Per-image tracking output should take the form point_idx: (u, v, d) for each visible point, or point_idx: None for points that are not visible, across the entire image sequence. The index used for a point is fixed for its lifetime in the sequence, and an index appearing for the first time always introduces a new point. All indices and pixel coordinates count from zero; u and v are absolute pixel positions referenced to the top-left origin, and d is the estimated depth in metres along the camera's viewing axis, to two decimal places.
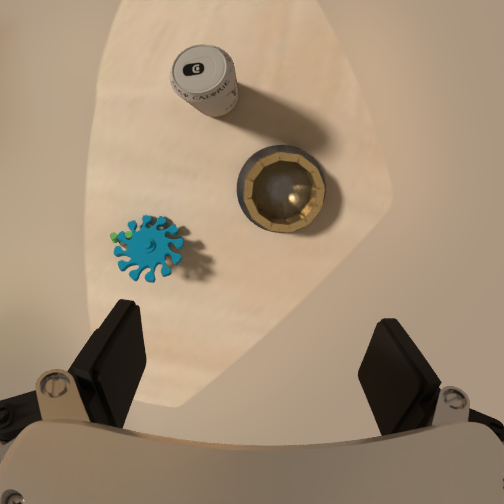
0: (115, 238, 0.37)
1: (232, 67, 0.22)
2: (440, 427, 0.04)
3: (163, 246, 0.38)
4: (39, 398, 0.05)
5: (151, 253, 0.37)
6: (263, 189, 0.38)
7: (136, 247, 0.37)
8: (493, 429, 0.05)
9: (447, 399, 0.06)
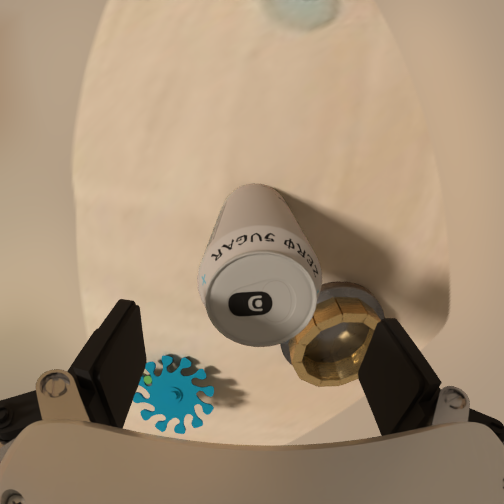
0: None
1: (319, 282, 0.13)
2: (440, 427, 0.04)
3: (192, 396, 0.30)
4: (39, 398, 0.05)
5: (178, 404, 0.29)
6: None
7: (159, 396, 0.29)
8: (493, 429, 0.05)
9: (447, 399, 0.06)
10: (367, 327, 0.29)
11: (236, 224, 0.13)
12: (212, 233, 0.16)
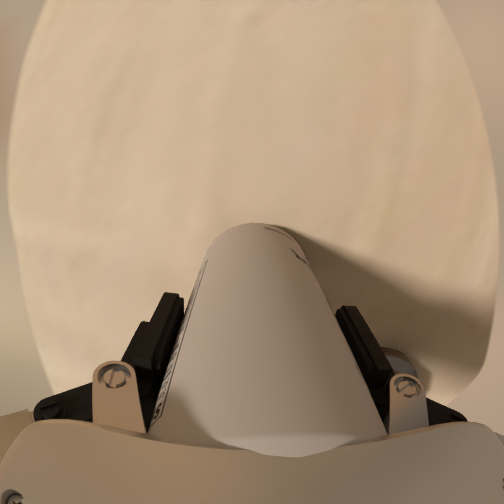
0: None
1: None
2: (440, 427, 0.04)
3: None
4: (99, 390, 0.06)
5: None
6: None
7: None
8: (452, 422, 0.05)
9: (399, 388, 0.07)
10: None
11: (210, 405, 0.05)
12: (169, 363, 0.07)
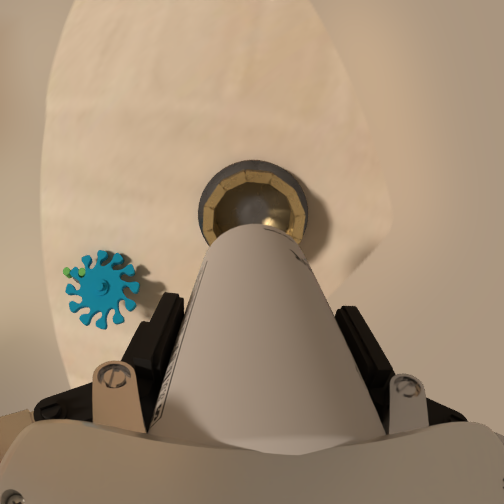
0: (68, 274, 0.31)
1: None
2: (440, 427, 0.04)
3: (117, 290, 0.32)
4: (99, 390, 0.06)
5: (103, 297, 0.31)
6: (230, 216, 0.31)
7: (88, 288, 0.31)
8: (452, 422, 0.05)
9: (399, 388, 0.07)
10: (288, 208, 0.31)
11: (210, 407, 0.05)
12: (169, 365, 0.07)
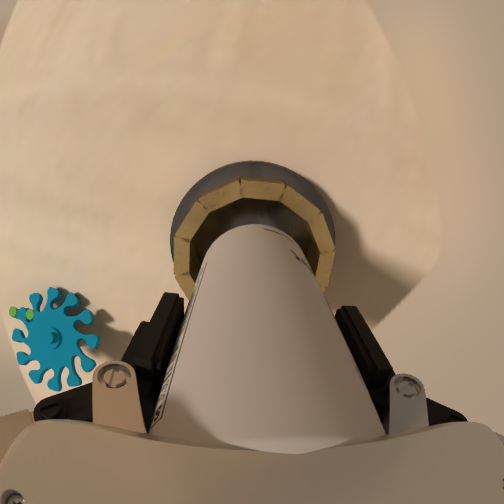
0: (15, 315, 0.20)
1: None
2: (440, 427, 0.04)
3: (71, 343, 0.21)
4: (99, 390, 0.06)
5: (55, 351, 0.20)
6: None
7: (37, 337, 0.20)
8: (452, 422, 0.05)
9: (399, 388, 0.07)
10: (306, 235, 0.20)
11: (210, 408, 0.05)
12: (169, 365, 0.07)
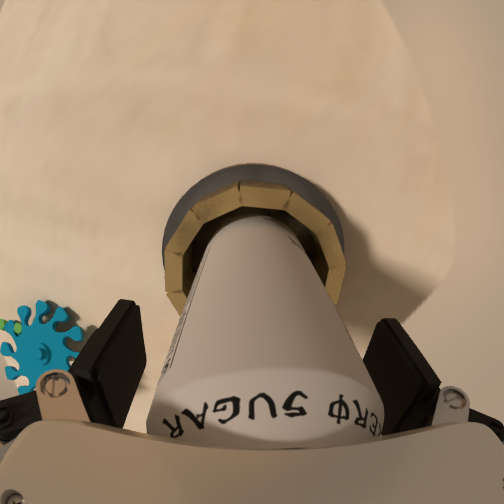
0: (3, 328, 0.18)
1: None
2: (440, 427, 0.04)
3: (61, 361, 0.19)
4: (39, 398, 0.05)
5: (44, 368, 0.18)
6: None
7: (26, 352, 0.18)
8: (493, 429, 0.05)
9: (447, 399, 0.06)
10: (312, 246, 0.18)
11: (215, 349, 0.06)
12: (177, 329, 0.08)
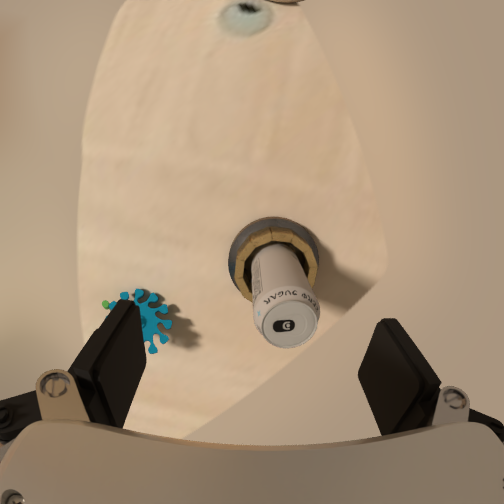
0: (107, 306, 0.37)
1: (318, 314, 0.25)
2: (440, 427, 0.04)
3: (153, 325, 0.38)
4: (39, 398, 0.05)
5: None
6: None
7: None
8: (493, 429, 0.05)
9: (447, 399, 0.06)
10: (302, 258, 0.38)
11: (275, 283, 0.25)
12: (257, 284, 0.28)
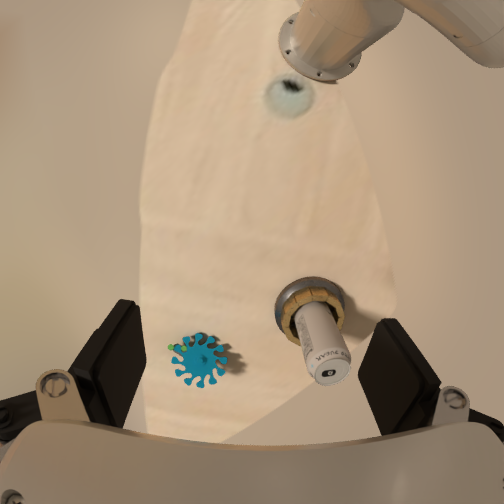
0: (172, 349, 0.47)
1: (350, 362, 0.34)
2: (440, 427, 0.04)
3: (212, 362, 0.48)
4: (39, 398, 0.05)
5: (202, 367, 0.47)
6: None
7: (190, 360, 0.47)
8: (493, 429, 0.05)
9: (447, 399, 0.06)
10: (332, 307, 0.47)
11: (323, 345, 0.34)
12: (307, 342, 0.37)
